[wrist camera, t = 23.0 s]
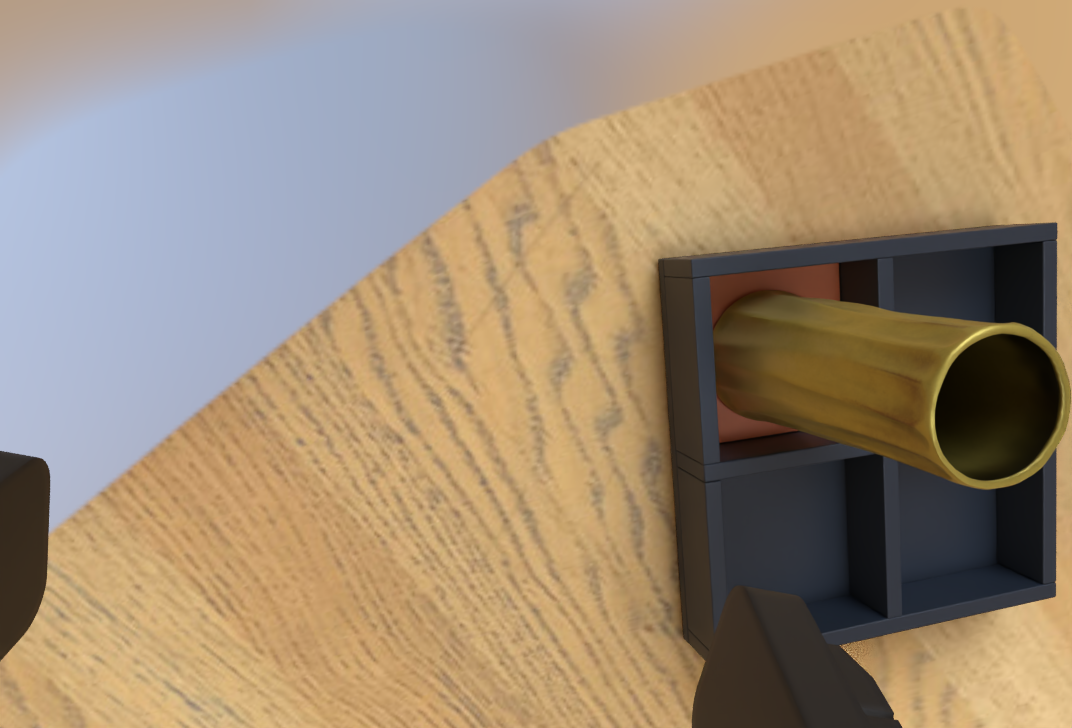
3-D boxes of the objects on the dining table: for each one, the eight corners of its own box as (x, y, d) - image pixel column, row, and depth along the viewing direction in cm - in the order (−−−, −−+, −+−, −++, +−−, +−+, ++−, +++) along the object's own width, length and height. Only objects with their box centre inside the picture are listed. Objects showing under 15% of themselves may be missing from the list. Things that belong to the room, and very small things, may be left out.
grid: (657, 258, 38) (691, 259, 35) (997, 225, 43) (1057, 222, 39) (683, 638, 41) (716, 673, 38) (1000, 571, 45) (1056, 597, 42)
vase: (839, 386, 41) (1104, 452, 27) (731, 441, 40) (948, 540, 26) (799, 268, 39) (1055, 275, 26) (685, 322, 38) (889, 360, 24)
